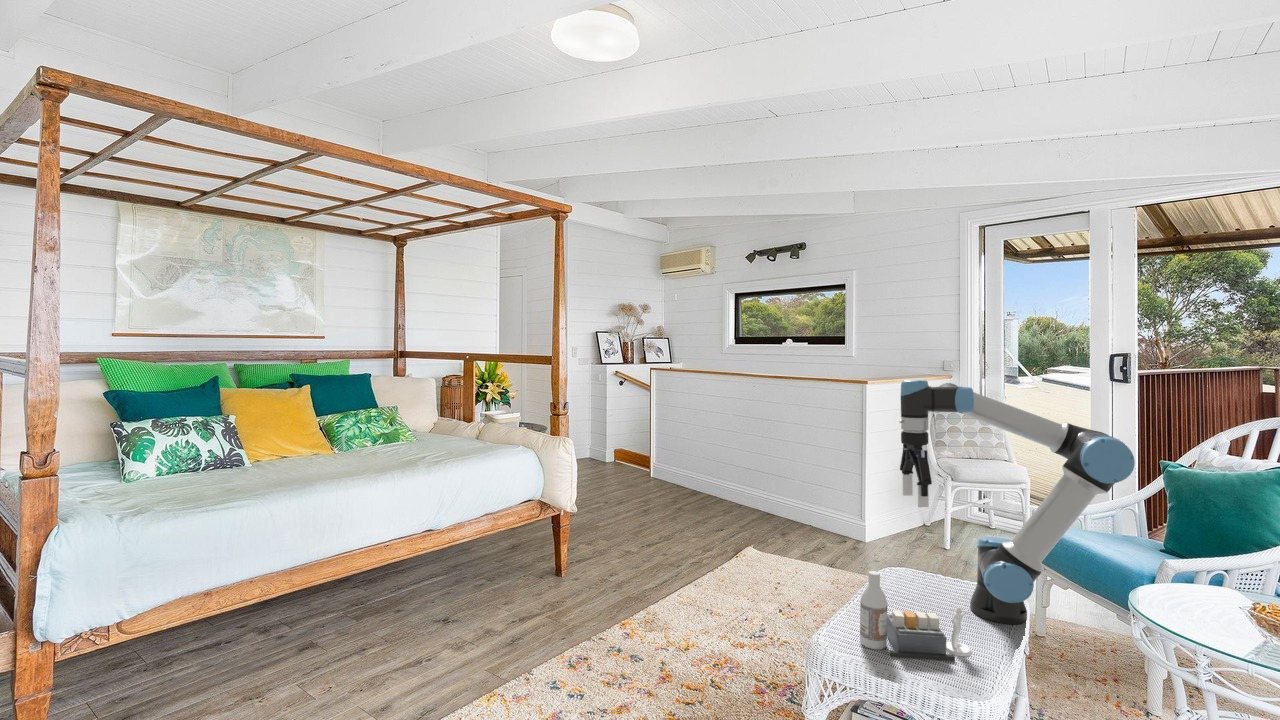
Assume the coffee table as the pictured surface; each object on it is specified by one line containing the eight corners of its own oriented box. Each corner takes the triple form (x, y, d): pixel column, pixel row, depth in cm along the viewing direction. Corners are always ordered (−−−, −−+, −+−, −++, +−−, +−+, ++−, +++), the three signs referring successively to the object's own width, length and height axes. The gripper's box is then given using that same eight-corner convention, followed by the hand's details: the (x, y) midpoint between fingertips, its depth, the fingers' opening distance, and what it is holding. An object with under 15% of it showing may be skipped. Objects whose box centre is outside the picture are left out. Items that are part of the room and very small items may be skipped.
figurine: (964, 659, 161) (965, 614, 160) (937, 648, 166) (938, 605, 166) (976, 651, 165) (977, 607, 164) (950, 640, 171) (951, 598, 170)
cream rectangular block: (934, 623, 168) (934, 612, 168) (939, 629, 164) (939, 618, 164) (926, 623, 168) (926, 612, 168) (930, 629, 165) (930, 618, 164)
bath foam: (876, 652, 164) (877, 579, 163) (854, 642, 169) (855, 571, 169) (891, 645, 167) (893, 574, 167) (870, 635, 173) (871, 566, 172)
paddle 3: (923, 622, 168) (923, 612, 168) (927, 628, 165) (927, 617, 165) (914, 622, 168) (914, 611, 168) (918, 628, 165) (919, 617, 165)
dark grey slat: (953, 659, 161) (953, 654, 161) (954, 661, 159) (954, 656, 159) (889, 654, 163) (889, 650, 163) (891, 657, 161) (891, 652, 161)
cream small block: (900, 621, 169) (900, 610, 169) (904, 627, 165) (904, 616, 165) (892, 620, 169) (892, 610, 169) (895, 626, 166) (895, 616, 166)
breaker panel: (930, 637, 172) (930, 614, 172) (945, 659, 160) (946, 635, 160) (886, 634, 174) (886, 611, 173) (898, 656, 162) (898, 632, 162)
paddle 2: (911, 622, 169) (911, 611, 168) (915, 628, 165) (915, 617, 165) (903, 621, 169) (903, 611, 169) (907, 627, 165) (907, 616, 165)
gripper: (889, 425, 196) (889, 490, 197) (916, 437, 171) (916, 512, 172) (913, 425, 195) (913, 490, 196) (943, 437, 170) (944, 512, 171)
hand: (915, 501), depth 184 cm, fingers open, 13 cm apart
